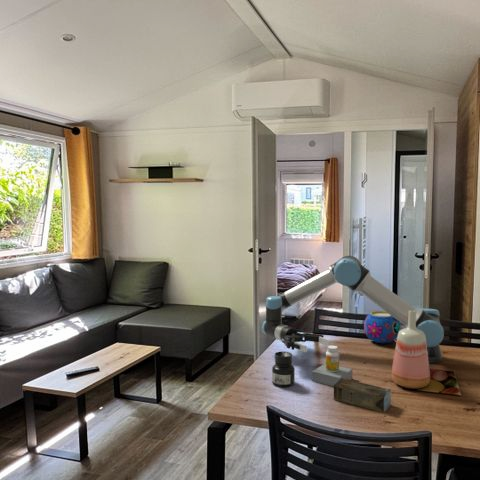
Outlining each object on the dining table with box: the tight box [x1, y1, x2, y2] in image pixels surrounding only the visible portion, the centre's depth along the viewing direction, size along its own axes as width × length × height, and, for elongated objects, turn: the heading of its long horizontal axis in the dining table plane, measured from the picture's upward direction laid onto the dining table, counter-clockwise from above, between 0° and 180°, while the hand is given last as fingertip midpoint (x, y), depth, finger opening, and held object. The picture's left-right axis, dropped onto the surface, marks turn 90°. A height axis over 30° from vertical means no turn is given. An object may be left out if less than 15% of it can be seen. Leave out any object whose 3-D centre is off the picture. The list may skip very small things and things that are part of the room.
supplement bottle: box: [325, 344, 340, 372], centre depth 192 cm, size 5×5×10 cm
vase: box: [390, 310, 431, 389], centre depth 186 cm, size 14×14×30 cm
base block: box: [311, 362, 353, 387], centre depth 193 cm, size 12×12×4 cm
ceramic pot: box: [363, 310, 401, 345], centre depth 243 cm, size 18×18×15 cm
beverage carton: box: [333, 378, 392, 413], centre depth 171 cm, size 8×19×7 cm, turn 56°
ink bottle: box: [271, 350, 296, 388], centre depth 189 cm, size 10×9×12 cm
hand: (318, 346), depth 199 cm, fingers open, 13 cm apart
